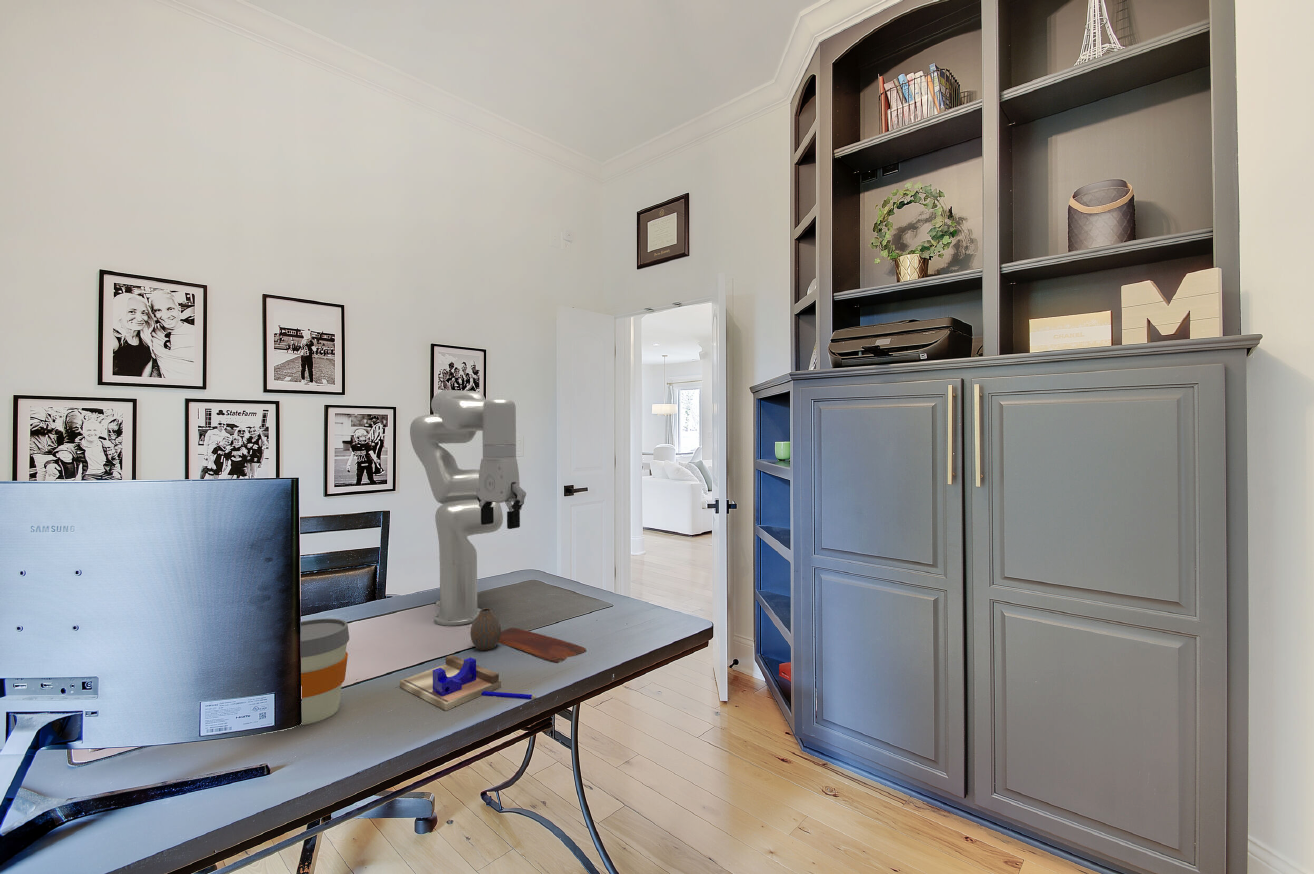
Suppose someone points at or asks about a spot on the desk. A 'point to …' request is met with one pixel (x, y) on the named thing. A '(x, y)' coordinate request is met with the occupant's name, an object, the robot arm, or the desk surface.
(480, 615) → the vase
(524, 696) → the pencil
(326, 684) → the reusable coffee cup
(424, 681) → the maple board
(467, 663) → the cable holder
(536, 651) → the wooden tablet
